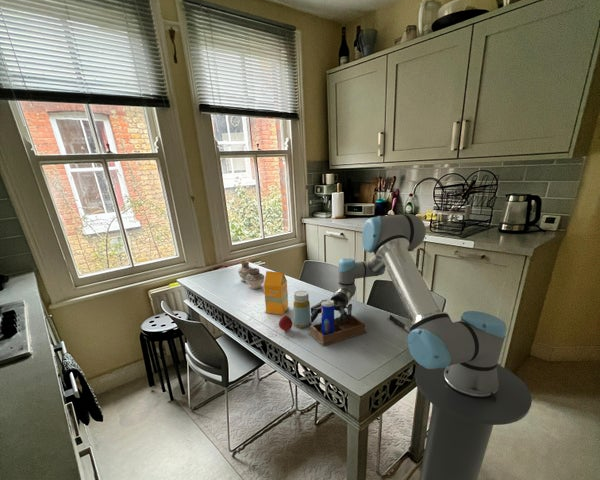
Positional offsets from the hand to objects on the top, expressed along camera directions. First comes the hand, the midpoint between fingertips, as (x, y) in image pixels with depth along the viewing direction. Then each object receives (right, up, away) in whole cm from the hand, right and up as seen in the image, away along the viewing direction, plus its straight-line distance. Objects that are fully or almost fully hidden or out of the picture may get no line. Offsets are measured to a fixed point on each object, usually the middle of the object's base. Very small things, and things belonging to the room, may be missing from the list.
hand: (324, 321), depth 124 cm
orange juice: (-21, +4, +32) cm, 38 cm away
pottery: (-39, +19, +66) cm, 79 cm away
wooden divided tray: (+6, -6, +9) cm, 13 cm away
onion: (-16, -5, +13) cm, 21 cm away
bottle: (-9, -2, +18) cm, 20 cm away
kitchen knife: (+35, -3, +12) cm, 37 cm away
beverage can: (+2, -6, +7) cm, 10 cm away
